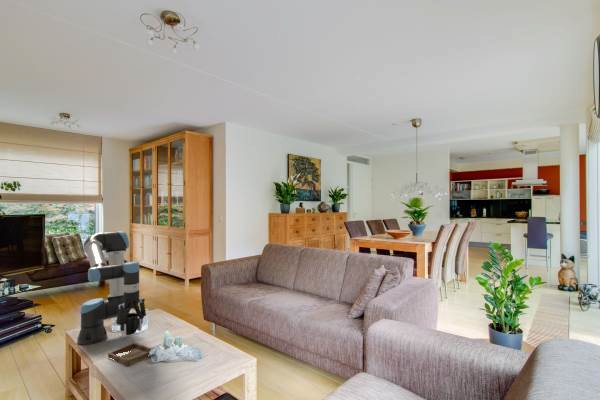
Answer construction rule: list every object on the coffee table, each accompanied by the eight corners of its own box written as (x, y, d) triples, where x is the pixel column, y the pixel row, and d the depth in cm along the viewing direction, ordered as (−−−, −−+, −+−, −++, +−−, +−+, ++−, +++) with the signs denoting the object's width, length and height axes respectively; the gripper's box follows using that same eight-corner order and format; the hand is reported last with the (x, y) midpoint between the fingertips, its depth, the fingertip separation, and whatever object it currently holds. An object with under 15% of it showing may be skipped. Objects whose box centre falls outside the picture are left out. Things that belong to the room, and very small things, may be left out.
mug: (130, 339, 162) (130, 320, 163) (117, 334, 169) (117, 316, 169) (145, 333, 170) (145, 315, 170) (132, 328, 176) (132, 311, 176)
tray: (108, 358, 167) (108, 353, 167) (134, 346, 180) (134, 342, 180) (128, 366, 158) (128, 361, 158) (154, 354, 171) (154, 349, 171)
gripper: (116, 297, 158) (116, 342, 158) (153, 287, 177) (153, 327, 176) (107, 295, 162) (108, 339, 162) (145, 285, 180) (145, 325, 180)
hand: (131, 333), depth 169 cm, fingers closed on mug, 8 cm apart
